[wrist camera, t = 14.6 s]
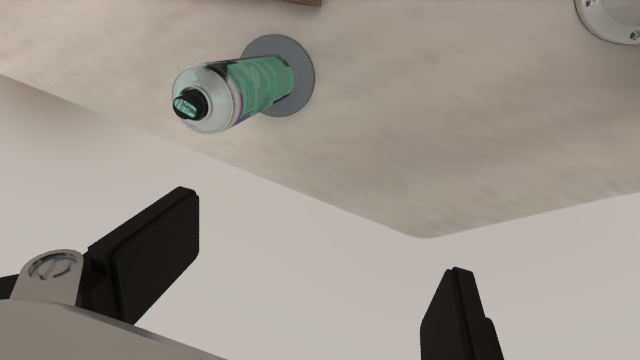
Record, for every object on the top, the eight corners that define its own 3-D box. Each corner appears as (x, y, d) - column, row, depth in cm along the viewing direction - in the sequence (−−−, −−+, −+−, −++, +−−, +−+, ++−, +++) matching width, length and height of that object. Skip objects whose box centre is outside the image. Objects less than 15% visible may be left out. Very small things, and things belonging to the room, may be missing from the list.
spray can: (255, 52, 40) (142, 63, 22) (298, 56, 39) (216, 71, 21) (256, 96, 42) (153, 139, 24) (296, 101, 41) (220, 149, 23)
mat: (289, 18, 38) (287, 17, 37) (328, 94, 41) (326, 95, 40) (227, 60, 42) (223, 60, 41) (266, 127, 45) (263, 129, 44)
